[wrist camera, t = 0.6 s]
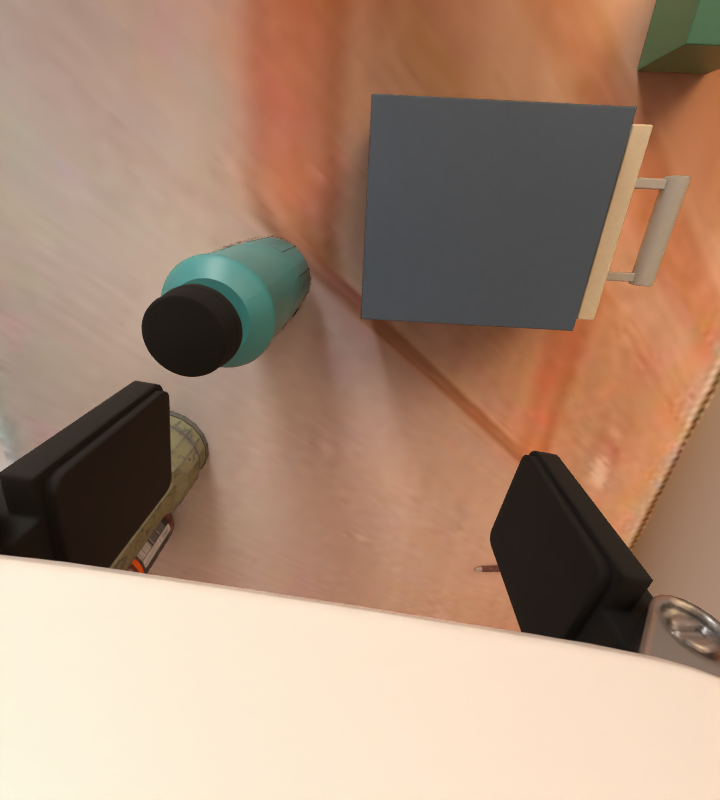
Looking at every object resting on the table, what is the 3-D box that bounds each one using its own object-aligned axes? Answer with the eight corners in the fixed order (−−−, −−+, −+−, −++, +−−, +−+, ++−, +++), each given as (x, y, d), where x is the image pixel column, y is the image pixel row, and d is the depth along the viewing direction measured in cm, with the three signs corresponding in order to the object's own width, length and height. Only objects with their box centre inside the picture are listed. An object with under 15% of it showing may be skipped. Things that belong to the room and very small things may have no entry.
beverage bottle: (271, 217, 33) (148, 221, 15) (331, 271, 35) (284, 334, 17) (228, 276, 36) (77, 341, 18) (287, 325, 37) (204, 429, 19)
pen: (565, 562, 49) (568, 568, 48) (564, 566, 50) (567, 573, 49) (473, 564, 50) (475, 570, 49) (473, 569, 50) (475, 575, 49)
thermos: (136, 483, 46) (-385, 1072, 14) (122, 392, 41) (-729, 992, 9) (212, 492, 46) (-141, 1093, 15) (206, 402, 41) (-351, 1026, 10)
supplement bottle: (151, 544, 50) (94, 629, 40) (117, 512, 48) (47, 593, 38) (186, 526, 49) (135, 609, 38) (151, 493, 47) (89, 571, 36)
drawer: (654, 149, 30) (741, 128, 23) (606, 301, 34) (665, 324, 27) (409, 136, 30) (419, 112, 23) (396, 290, 35) (401, 309, 28)
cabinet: (562, 137, 30) (637, 106, 22) (525, 302, 36) (573, 331, 27) (372, 127, 30) (371, 93, 22) (364, 293, 36) (360, 319, 27)
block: (662, -24, 26) (722, -73, 22) (738, -21, 26) (814, -69, 22) (636, 71, 28) (686, 44, 24) (706, 74, 28) (769, 48, 24)
